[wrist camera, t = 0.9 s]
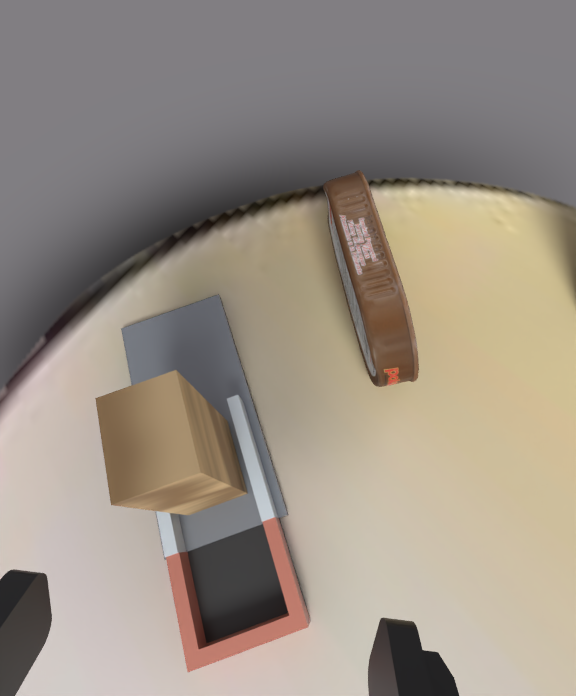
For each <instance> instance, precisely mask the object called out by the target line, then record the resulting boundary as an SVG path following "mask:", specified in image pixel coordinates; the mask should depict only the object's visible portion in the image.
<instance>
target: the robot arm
mask: <svg viewBox="0 0 576 696" xmlns="http://www.w3.org/2000/svg"><path fill="white" fill-rule="evenodd" d="M51 621H52V614H51V606H50V597H49V589H48V581H47V576H46V574H44V573H37V572H29V571H22V570H10V571H9V572H7V573H6V574H5V575H4V576H3V577H2V578H1V580H0V696H15V695H16V693H17V691H18V690H19V688H20V686H21V684H22V683H23V681H24V679H25V677H26V676H27V674H28V672H29V670H30V669H31V667H32V665H33V663H34V662H35V660H36V658H37V657H38V655H39V653H40V651H41V650H42V648H43V646H44V644H45V642H46V639H47V637H48V634H49V631H50V627H51ZM368 688H369V696H459V693H458V690H457V687H456V683H455V680H454V677H453V676H452V674H451V672H450V671H449V669H448V668H447V666H446V664H445V663H444V661H443V660H442V658H441V657H440V655H439V653H438V652H431V651H424V650H422V646H421V642H420V638H419V634H418V630H417V627H416V625H415V623H414V622H412V621H405V620H397V619H389V618H381V620H380V622H379V626H378V630H377V633H376V637H375V641H374V644H373V648H372V652H371V655H370V659H369V667H368Z"/></svg>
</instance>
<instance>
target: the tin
mask: <svg viewBox="0 0 576 696" xmlns="http://www.w3.org/2000/svg"><path fill="white" fill-rule="evenodd" d="M323 189H324V192H325V194H326V196H327V204H328V224H329V230H330V234H331V239H332V243H333V247H334V252H335V256H336V260H337V264H338V268H339V272H340V275H341V279H342V283H343V287H344V291H345V295H346V299H347V303H348V307H349V310H350V314H351V318H352V321H353V325H354V328H355V332H356V335H357V339H358V342H359V346H360V349H361V352H362V356H363V359H364V362H365V365H366V368H367V371H368V374H369V376H370V379H371V381H372V382H373V384H374V385H375V386H378V387H382V386H388V385H393V384H397V383H401V382H406V381H411V382H414V381H416V379H417V378H418V370H419V364H418V351H417V343H416V337H415V332H414V327H413V323H412V318H411V313H410V309H409V306H408V302H407V299H406V295H405V292H404V289H403V285H402V282H401V279H400V277H399V274H398V271H397V268H396V265H395V262H394V259H393V256H392V253H391V250H390V247H389V244H388V241H387V239H386V235H385V232H384V230H383V226H382V223H381V221H380V218H379V215H378V211H377V209H376V206H375V203H374V200H373V197H372V193H371V191H370V188H369V185H368V182H367V180H366V178H365V176H364V174H363V173H362V172H361V171H360V170H358V171H356V172H355V173H353V174H350V175H346V176H343V177H339V178H335V179H332V180H330V181H327V182H326V183H325V184H324V185H323Z"/></svg>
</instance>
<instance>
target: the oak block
mask: <svg viewBox="0 0 576 696" xmlns="http://www.w3.org/2000/svg"><path fill="white" fill-rule="evenodd" d="M96 405H97V411H98V418H99V425H100V432H101V439H102V446H103V452H104V459H105V466H106V473H107V480H108V487H109V493H110V500H111V505H115V506H123V507H130V508H137V509H145V510H152V511H160V512H167V513H174V514H182V515H191V514H194V513H196V512H199V511H202V510H204V509H207V508H210V507H213V506H215V505H218V504H221V503H224V502H226V501H229V500H232V499H235V498H237V497H240V496H243V495H245V494H248V493H247V489H246V485H245V482H244V478H243V475H242V471H241V468H240V464H239V460H238V457H237V453H236V450H235V446H234V443H233V439H232V435H231V432H230V428H229V425H228V421H227V420H226V419H225V418H224V417H223V416H222V415H221V414H220V413H219V412H218V411H217V410H216V409H215V408H214V407H213V406H212V405H211V404H210V403H209V402H208V401H207V400H206V399H205V398H204V397H203V396H202V395H201V394H200V393H199V392H198V391H197V390H196V389H195V388H194V387H193V386H192V385H191V384H190V383H189V382H188V381H187V380H186V379H185V378H184V377H183V376H182V375H181V374H180V373H179V372H178V371H177V370H174V371H171V372H168V373H166V374H163V375H160V376H157V377H154V378H152V379H149V380H146V381H143V382H140V383H138V384H135V385H132V386H129V387H126V388H124V389H121V390H118V391H115V392H112V393H109V394H107V395H104V396H101V397H98V398H96Z"/></svg>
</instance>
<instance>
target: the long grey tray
mask: <svg viewBox="0 0 576 696" xmlns="http://www.w3.org/2000/svg"><path fill="white" fill-rule="evenodd" d="M121 330H122V335H123V340H124V346H125V351H126V356H127V362H128V367H129V372H130V378H131V383H132V385H135V384H138V383H140V382H143V381H146V380H149V379H152V378H154V377H157V376H160V375H163V374H166V373H168V372H171V371H174V370H177V371H178V372H179V373H180V374H181V375H182V376H183V377H184V378H185V379H186V380H187V381H188V382H189V383H190V384H191V385H192V386H193V387H194V388H195V389H196V390H197V391H198V392H199V393H200V394H201V395H202V396H203V397H204V398H205V399H206V400H207V401H208V402H209V403H210V404H211V405H212V406H213V407H214V408H215V409H216V410H217V411H218V412H219V413H220V414H221V415H222V416H223V417H224V418H225V419H226V420H227V421H228V425H229V428H230V432H231V435H232V439H233V443H234V446H235V450H236V453H237V457H238V460H239V464H240V468H241V471H242V475H243V478H244V482H245V485H246V489H247V493H248V494H245V495H243V496H240V497H237V498H235V499H232V500H229V501H226V502H224V503H221V504H218V505H215V506H213V507H210V508H207V509H204V510H202V511H199V512H196V513H194V514H191V515H182V514H174V513H167V512H160V511H156V516H157V521H158V527H159V532H160V537H161V543H162V548H163V553H164V559H165V560H167V565H168V570H169V575H170V581H171V586H172V591H173V597H174V602H175V607H176V612H177V618H178V623H179V628H180V634H181V639H182V644H183V649H184V655H185V660H186V665H187V671H188V672H190V671H193V670H195V669H198V668H201V667H203V666H206V665H209V664H211V663H214V662H217V661H219V660H222V659H225V658H227V657H230V656H233V655H235V654H238V653H240V652H243V651H246V650H248V649H251V648H254V647H256V646H259V645H262V644H264V643H267V642H270V641H272V640H275V639H278V638H280V637H283V636H286V635H288V634H291V633H294V632H296V631H299V630H302V629H304V628H307V627H308V626H309V623H310V618H309V615H308V611H307V608H306V605H305V601H304V598H303V595H302V592H301V588H300V585H299V582H298V578H297V575H296V572H295V569H294V565H293V562H292V559H291V555H290V552H289V549H288V545H287V542H286V539H285V536H284V532H283V529H282V526H281V522H280V519H279V518H281V517H284V516H287V515H288V513H287V509H286V506H285V503H284V500H283V497H282V493H281V490H280V487H279V484H278V481H277V477H276V474H275V471H274V468H273V465H272V461H271V458H270V455H269V452H268V449H267V446H266V442H265V439H264V436H263V433H262V430H261V426H260V423H259V420H258V417H257V414H256V410H255V407H254V404H253V401H252V398H251V394H250V391H249V388H248V385H247V382H246V378H245V375H244V372H243V369H242V366H241V362H240V359H239V356H238V353H237V350H236V346H235V343H234V340H233V337H232V334H231V330H230V327H229V324H228V321H227V318H226V314H225V311H224V308H223V305H222V302H221V298H220V296H219V294H218V295H216V296H213V297H210V298H207V299H204V300H201V301H199V302H196V303H193V304H190V305H187V306H184V307H182V308H179V309H176V310H173V311H170V312H167V313H164V314H162V315H159V316H156V317H153V318H150V319H147V320H145V321H142V322H139V323H136V324H133V325H130V326H128V327H125V328H122V329H121Z"/></svg>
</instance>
